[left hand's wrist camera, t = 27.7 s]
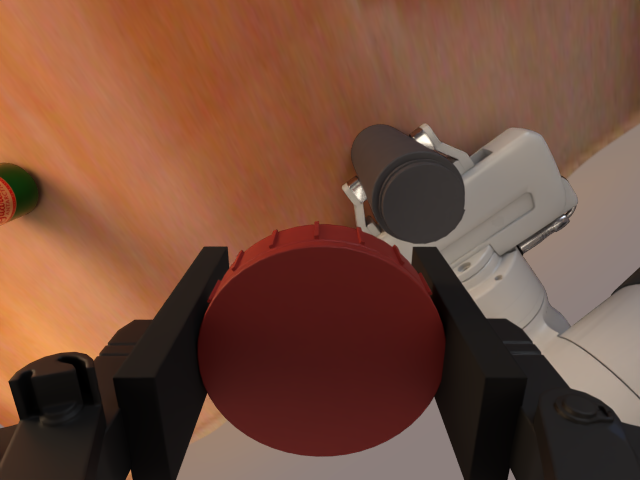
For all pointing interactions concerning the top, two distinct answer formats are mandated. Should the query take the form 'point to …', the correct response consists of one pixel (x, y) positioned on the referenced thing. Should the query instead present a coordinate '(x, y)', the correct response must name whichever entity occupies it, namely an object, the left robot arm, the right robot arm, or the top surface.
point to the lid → (321, 341)
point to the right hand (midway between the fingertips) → (382, 156)
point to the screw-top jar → (408, 185)
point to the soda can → (16, 192)
